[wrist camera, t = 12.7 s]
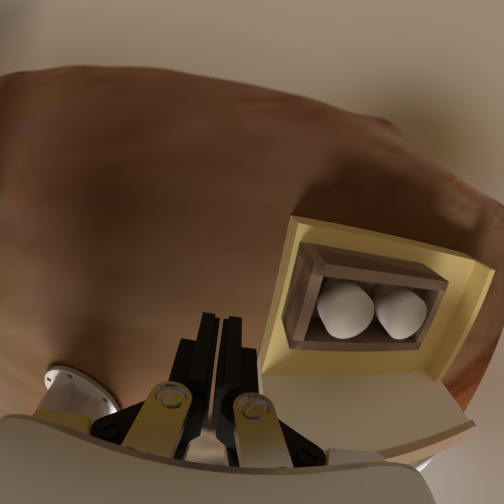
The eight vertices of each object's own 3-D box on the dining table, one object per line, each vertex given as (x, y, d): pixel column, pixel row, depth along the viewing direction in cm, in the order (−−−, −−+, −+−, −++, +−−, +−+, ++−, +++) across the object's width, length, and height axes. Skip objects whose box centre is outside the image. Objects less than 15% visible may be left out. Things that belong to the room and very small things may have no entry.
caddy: (397, 324, 23) (420, 352, 19) (281, 317, 22) (290, 352, 17) (421, 262, 21) (452, 284, 17) (299, 241, 20) (316, 264, 15)
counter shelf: (413, 370, 30) (460, 442, 16) (251, 372, 28) (260, 487, 14) (465, 253, 24) (549, 306, 11) (287, 214, 22) (353, 293, 9)
